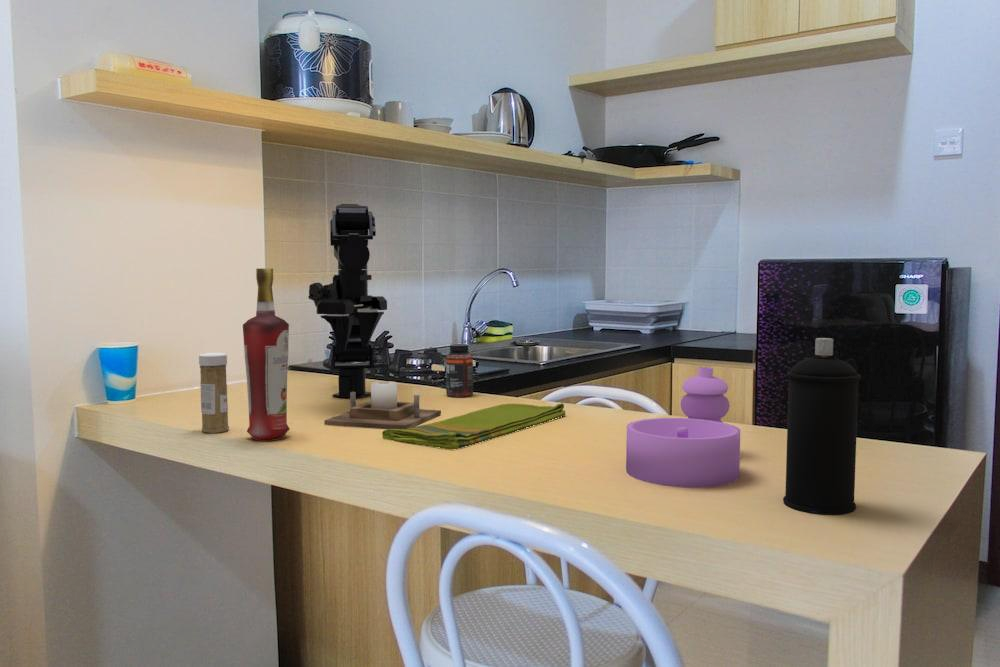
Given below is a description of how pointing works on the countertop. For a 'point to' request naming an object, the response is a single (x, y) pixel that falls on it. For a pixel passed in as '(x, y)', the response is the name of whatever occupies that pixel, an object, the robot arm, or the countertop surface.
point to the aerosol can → (821, 433)
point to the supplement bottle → (459, 371)
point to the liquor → (266, 365)
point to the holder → (383, 415)
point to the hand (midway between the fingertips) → (353, 348)
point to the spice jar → (213, 392)
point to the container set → (687, 440)
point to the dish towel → (476, 425)
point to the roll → (384, 395)
